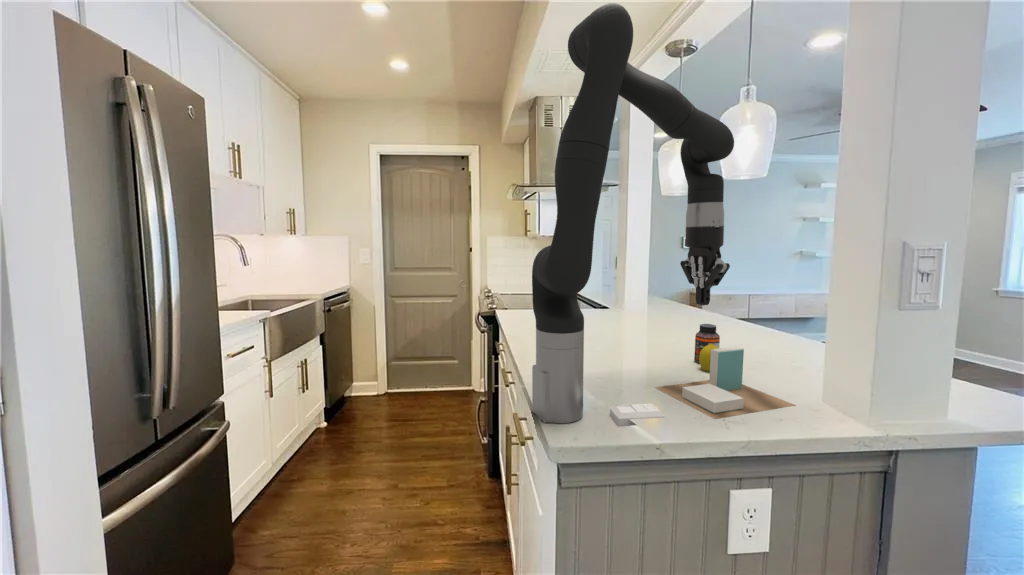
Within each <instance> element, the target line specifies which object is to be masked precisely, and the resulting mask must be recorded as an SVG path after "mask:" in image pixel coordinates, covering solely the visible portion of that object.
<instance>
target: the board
mask: <svg viewBox="0 0 1024 575" xmlns="http://www.w3.org/2000/svg"><path fill="white" fill-rule="evenodd" d="M709 380H710V379H707V380H700V381H694V382H685V383H684V382H683V383H679V384H676V383H675V384H671V385H662V386H661V385H660V386H655V387H654V388H655V389H656V390H658V391H660V392H662V393H664V394H665V395H668V396H670V397H671V398H674V399H675V400H677V401H679V402H682V403H683V404H685V405H687V406H689V407H691V408H692V409H695V410H696V411H699V412H700V413H702V414H704V415H706V416H708V417H710V418H712V419H714V420H719V419H724V418H731V417H735V416H742V415H748V414H753V413H760V412H764V411H765V412H766V411H770V410H777V409H783V408H790V407H796V404H794V403H791V402H788V401H786V400H784V399H781V398H779V397H776V396H773V395H771V394H768V393H766V392H763V391H761V390H758V389H755V388H752V387H750V386H748V385H745V384H743V383H742V388H741V389H736V390H729V391H728V392H730V393H733V394H735V395H737V396H740V397H742V398H744V404H743V408H742V409H740V410H733V411H727V412H721V413H715V414H714V413H712V412H710V411H708V410H706V409H704V408H702V407H700V406H698V405H696V404H694V403H692V402H690V401H688V400H686V399H684V398H683V397H682V387H689V386H696V385H703V384H709Z"/></svg>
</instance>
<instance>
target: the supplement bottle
mask: <svg viewBox="0 0 1024 575" xmlns="http://www.w3.org/2000/svg"><path fill="white" fill-rule="evenodd" d="M716 325H717V324H716ZM716 325H715V324H711V323H701V324H699V330H698V331H697V332H696V333H695V339H694V340H695V341H694V356H693V357H694V358H693V362H694V363H695V364H696V365H697V364H698V365H700V363H699V356H700V352H701V350H702V349H703V348H704V347H705V346H707V345H710V344H714V345H715V346H717V347H718V348H720V339H721V336H720V334H719V333H718V332H717V326H716Z"/></svg>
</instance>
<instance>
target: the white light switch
mask: <svg viewBox="0 0 1024 575" xmlns="http://www.w3.org/2000/svg"><path fill="white" fill-rule="evenodd" d="M609 416H610V418H611V417H612V418H611V419H612V420H613V421H614V423H615V424H616V425H617V426H618V427H626V426H627V427H628V426H637V423H635V422H633V421H632V420H641V419H644V420H645V419H658V418H659V419H662V418H666V416H665V414H664V413H663V412H662V411H660V409H658V408H657V407H656V406H655V405H654V404H653V403H635V404H633V403H632V404H616V405H613V406H611V407H610V408H609Z"/></svg>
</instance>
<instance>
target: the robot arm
mask: <svg viewBox="0 0 1024 575" xmlns="http://www.w3.org/2000/svg"><path fill="white" fill-rule="evenodd" d="M633 26H634V25H633V20H632V17H631V15H630V13H629V12H628V10H627V9H626V8H625V7H624V6H623V5H622V4H619V3H615V2H610V3H606V4H604V5H601V6H599V7H598V8H596V9H595V10H593V11H592V12H591V13H590V14H589V15H587V16H586V17H585V18H584V19H583V20H582V21H581V22H580V23H578V24H577V25H576V26H575V27H574V28H573V29H572V31H571V32H570V34H569V36H568V40H567V51H568V55H569V57H570V60H571V62H572V64H574V65H575V66H576V68H577V69H579V70H580V71H581V72H583V73H584V74H583V79H582V83H581V86H580V88H579V91H578V94H577V96H576V98H575V100H574V103H573V105H572V108H570V112H569V114H568V115H567V118H566V121H565V123H564V125H563V127H562V130H561V133H560V137H559V140H558V146H557V153H556V159H555V165H554V190H555V199H556V220H555V221H556V222H555V226H554V227H555V228H554V231H553V236H552V239H551V240H552V241H551V244H550V245H548V246H545V247H543V248H542V249H541V250H539V251H538V252H537V253H536V256H535V258H534V259H533V263H532V268H531V289H532V290H531V292H532V308H533V309H532V310H533V314H534V318H535V364H533V365H532V366H531V367H532V368H531V369H532V376H531V377H532V382H531V383H532V386H531V389H532V393H531V394H532V397H531V398H532V400H531V401H532V404H531V405H532V412H533V413H534V415H536V416H537V418H538V419H539V420H540V421H542V423H555V424H569V423H572V422H573V423H574V422H576V421H578V420H580V419H582V418H583V417H584V416H583V415H584V354H585V353H584V352H585V350H584V349H585V348H584V347H585V346H584V344H585V317H584V313H583V312H582V310H581V307H580V305H579V302H578V293H580V292H581V291H582V290H583V289H584V288H585V287H586V285H587V283H588V282H589V279H590V277H591V271H592V265H593V264H592V263H593V250H594V238H595V237H594V236H595V235H594V234H595V229H596V228H595V225H596V220H597V214H598V210H599V204H600V198H601V194H602V193H601V192H602V187H603V182H604V177H605V173H606V167H607V163H608V157H609V156H608V155H609V152H610V145H611V144H610V143H611V137H612V132H613V127H614V122H615V118H616V117H615V116H616V111H617V105H618V101H619V100H618V99H619V96H620V97H621V98H623V99H624V100H626V101H627V102H629V103H630V104H631V105H633V106H634V107H635V108H637V110H639V111H640V112H641V113H643V114H644V115H646V116H647V118H649V120H651V121H652V122H653V123H654V124H655V125H656V126H658V128H660V129H661V130H662V131H663V132H664V133H665V134H666V135H667V136H668V137H670V138H672V139H675V140H682V142H681V146H680V154H679V155H680V161H681V164H682V168H683V171H684V177H685V179H686V184H687V206H686V213H685V244H684V245H685V247H687V248H688V253H687V258H686V259H685V260H681V261H680V262H679V264H680V267H681V269H682V271H683V273H684V275H685V277H686V279H687V281H688V284H690V285H693V286H694V288H695V303H696V305H699V306H708V305H709V304H710V302H711V288H713V287H716V286H719V284H720V283H721V281H722V280H723V278H724V277H725V275H726V274H727V272H728V271H729V270H730V268H731V267H730V266H731V265H730V263H728V262H727V263H726V262H724V261H723V260H722V254H721V247H723V246H724V239H725V234H724V232H725V208H724V191H725V190H724V189H725V186H724V185H725V183H724V177H723V176H722V175H721V174H719V173H718V174H717V173H711V171H710V167H709V163H713V162H717V161H722V160H724V159H726V158H728V156H730V155H731V154H732V152H733V150H734V146H735V138H734V135H733V133H732V131H731V129H730V128H729V127H728V126H727V125H726V123H724V122H722V121H720V120H719V119H718V118H715V117H713V116H712V115H710V114H708V113H707V112H705V111H702V110H700V109H698V108H696V107H695V105H694V104H693V103H692V102H691V101H690V100H689V98H687V97H686V96H685V95H683V94H684V93H682V92H681V91H679V90H678V88H676V87H675V86H673V85H672V84H670V83H668V82H667V81H664V80H662V79H660V78H658V77H655V76H654V75H650V74H648V73H646V72H644V71H642V70H640V69H638V68H636V67H635V66H634V65H632V64H630V63H629V58H630V54H631V52H632V48H633V42H634V27H633Z"/></svg>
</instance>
